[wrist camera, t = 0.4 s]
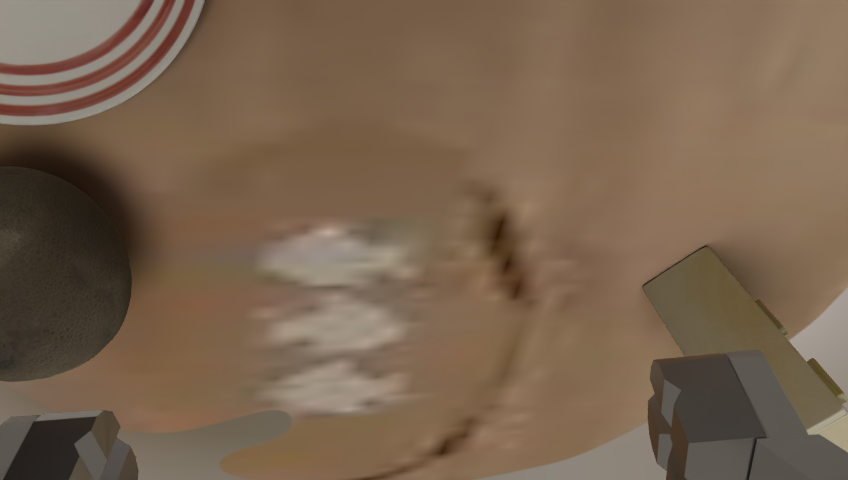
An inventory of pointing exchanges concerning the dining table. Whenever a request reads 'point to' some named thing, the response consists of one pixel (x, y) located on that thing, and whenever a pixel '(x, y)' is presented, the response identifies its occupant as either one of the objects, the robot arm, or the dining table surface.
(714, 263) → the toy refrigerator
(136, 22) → the dinner plate
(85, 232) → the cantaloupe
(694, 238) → the dining table surface
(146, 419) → the dining table surface
